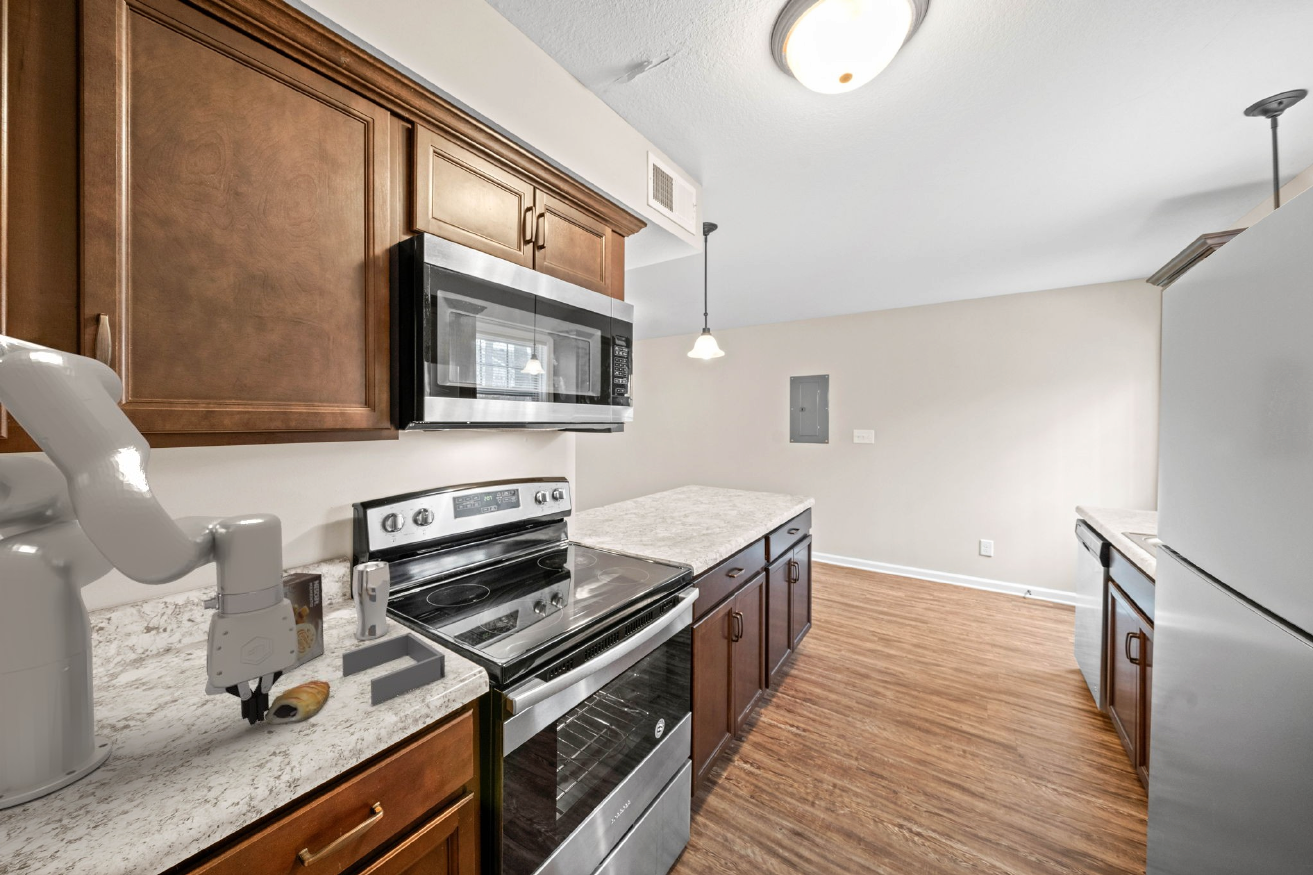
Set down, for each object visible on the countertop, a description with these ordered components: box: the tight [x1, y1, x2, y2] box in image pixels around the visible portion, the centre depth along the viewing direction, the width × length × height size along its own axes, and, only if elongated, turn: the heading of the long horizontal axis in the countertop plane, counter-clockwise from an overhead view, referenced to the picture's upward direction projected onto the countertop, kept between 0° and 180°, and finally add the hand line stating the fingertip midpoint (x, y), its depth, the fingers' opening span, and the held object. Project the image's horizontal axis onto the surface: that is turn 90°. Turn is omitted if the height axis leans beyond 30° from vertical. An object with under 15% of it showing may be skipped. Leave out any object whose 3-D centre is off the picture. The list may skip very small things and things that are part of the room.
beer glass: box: [352, 560, 391, 641], centre depth 105 cm, size 7×7×15 cm
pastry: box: [264, 680, 331, 725], centre depth 78 cm, size 9×7×4 cm
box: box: [341, 632, 446, 706], centre depth 87 cm, size 12×15×4 cm
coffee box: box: [283, 572, 325, 667], centre depth 92 cm, size 9×6×16 cm
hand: (255, 719), depth 72 cm, fingers closed
